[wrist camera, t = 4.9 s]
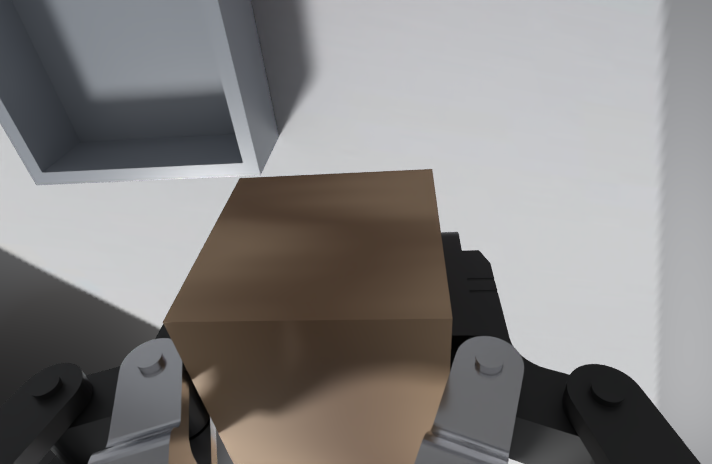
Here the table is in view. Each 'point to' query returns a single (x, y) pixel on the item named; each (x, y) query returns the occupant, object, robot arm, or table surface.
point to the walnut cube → (320, 318)
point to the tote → (134, 89)
